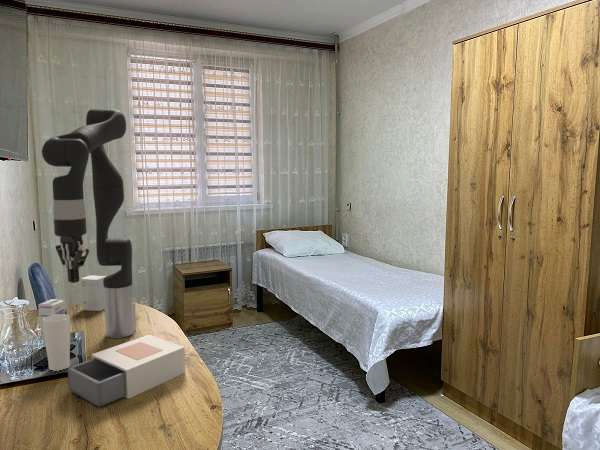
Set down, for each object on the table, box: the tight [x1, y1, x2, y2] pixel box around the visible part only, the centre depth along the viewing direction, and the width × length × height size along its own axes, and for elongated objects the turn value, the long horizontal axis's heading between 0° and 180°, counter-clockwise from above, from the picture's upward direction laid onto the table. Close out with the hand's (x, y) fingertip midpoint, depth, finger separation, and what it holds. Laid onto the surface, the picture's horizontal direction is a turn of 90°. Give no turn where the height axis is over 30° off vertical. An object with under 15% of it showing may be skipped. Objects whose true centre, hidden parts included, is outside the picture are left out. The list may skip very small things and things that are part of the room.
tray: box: [66, 358, 127, 408], centre depth 118 cm, size 18×14×6 cm
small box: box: [79, 274, 107, 312], centre depth 183 cm, size 8×6×13 cm
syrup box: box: [37, 298, 68, 347], centre depth 145 cm, size 6×6×14 cm
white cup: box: [43, 313, 71, 372], centre depth 129 cm, size 7×7×15 cm
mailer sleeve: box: [91, 334, 186, 399], centre depth 124 cm, size 18×16×8 cm
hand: (73, 281), depth 120 cm, fingers closed
